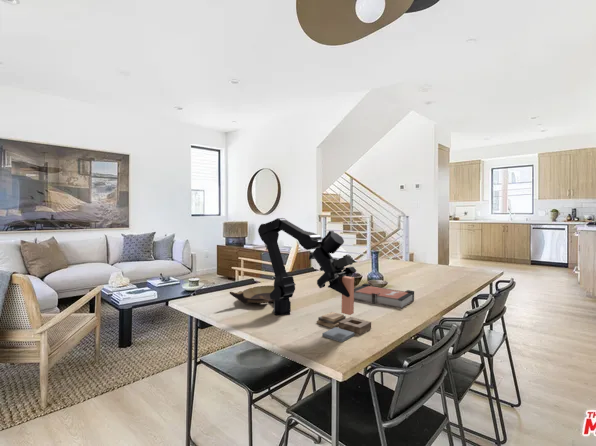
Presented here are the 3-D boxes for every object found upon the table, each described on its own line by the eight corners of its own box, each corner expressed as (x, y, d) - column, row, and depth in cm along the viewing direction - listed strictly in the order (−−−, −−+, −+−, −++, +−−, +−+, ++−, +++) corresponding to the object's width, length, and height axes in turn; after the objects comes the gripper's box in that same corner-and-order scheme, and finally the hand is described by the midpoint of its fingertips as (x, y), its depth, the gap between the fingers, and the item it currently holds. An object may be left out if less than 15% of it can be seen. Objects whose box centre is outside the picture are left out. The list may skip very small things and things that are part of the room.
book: (349, 299, 163) (349, 289, 163) (364, 292, 177) (364, 283, 177) (401, 309, 148) (401, 298, 147) (414, 301, 161) (414, 291, 161)
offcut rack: (316, 323, 128) (316, 315, 128) (331, 317, 136) (331, 309, 135) (358, 335, 116) (358, 327, 116) (372, 328, 123) (372, 320, 123)
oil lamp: (296, 304, 153) (296, 288, 153) (231, 312, 142) (231, 294, 141) (280, 293, 174) (280, 278, 173) (222, 298, 162) (222, 283, 162)
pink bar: (341, 313, 119) (342, 277, 118) (345, 311, 121) (345, 276, 120) (349, 315, 117) (350, 278, 116) (353, 313, 119) (354, 277, 118)
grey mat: (322, 336, 115) (322, 333, 115) (335, 329, 121) (335, 327, 121) (341, 342, 110) (341, 339, 110) (354, 335, 116) (354, 332, 116)
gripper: (324, 249, 113) (351, 287, 107) (352, 245, 128) (378, 278, 121) (305, 269, 119) (331, 306, 112) (334, 263, 133) (358, 295, 126)
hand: (351, 295), depth 118 cm, fingers closed on pink bar, 2 cm apart
